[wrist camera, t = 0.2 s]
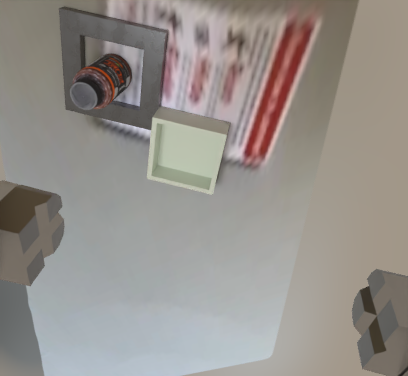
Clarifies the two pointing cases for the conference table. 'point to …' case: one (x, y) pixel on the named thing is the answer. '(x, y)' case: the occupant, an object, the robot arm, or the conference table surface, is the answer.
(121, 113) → the socket frame
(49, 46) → the conference table surface
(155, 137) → the tray
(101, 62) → the supplement bottle
